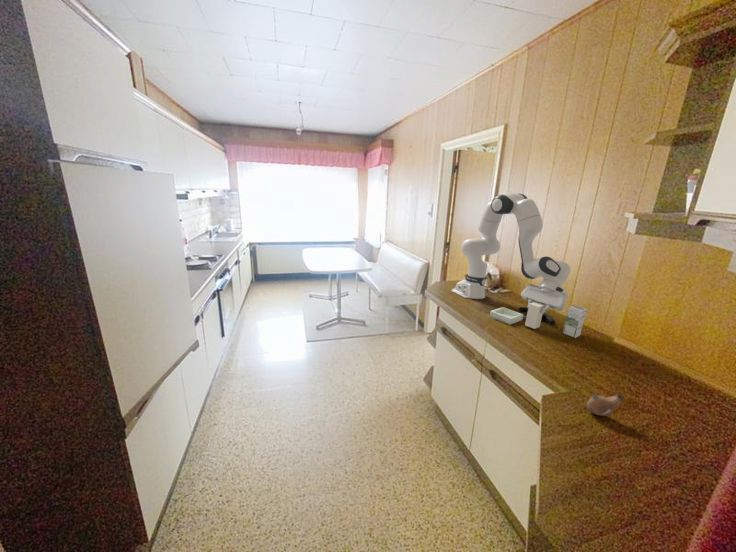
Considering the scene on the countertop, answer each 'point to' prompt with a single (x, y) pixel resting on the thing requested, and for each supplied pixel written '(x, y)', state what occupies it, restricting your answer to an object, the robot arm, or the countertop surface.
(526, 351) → the countertop surface
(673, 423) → the countertop surface
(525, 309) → the toy submachine gun
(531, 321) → the cream block
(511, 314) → the tray
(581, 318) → the syrup box
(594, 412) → the oil lamp
